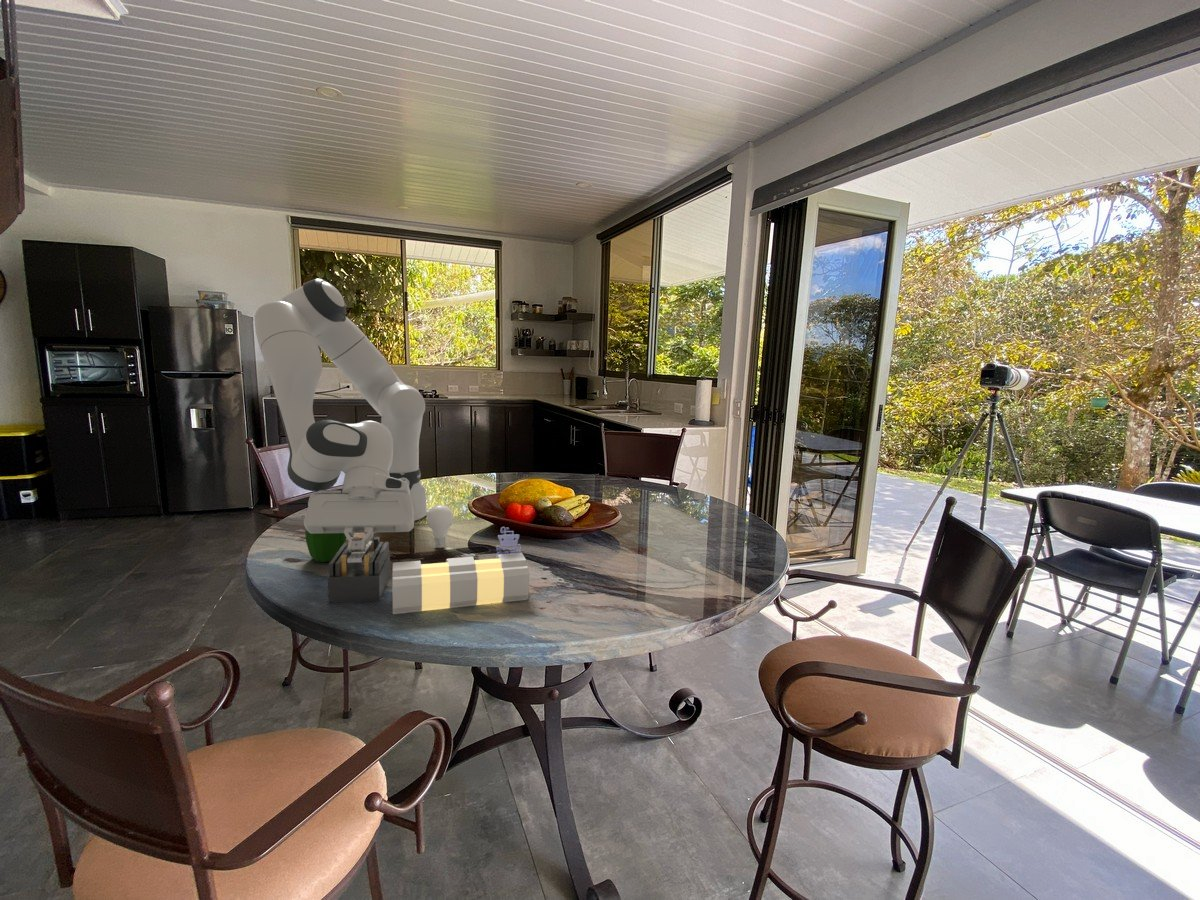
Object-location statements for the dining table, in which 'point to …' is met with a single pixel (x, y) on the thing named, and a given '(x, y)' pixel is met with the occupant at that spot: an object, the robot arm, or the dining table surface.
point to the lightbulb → (440, 523)
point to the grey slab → (359, 554)
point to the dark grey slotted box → (359, 574)
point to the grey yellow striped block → (461, 581)
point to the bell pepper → (324, 545)
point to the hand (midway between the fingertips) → (356, 550)
